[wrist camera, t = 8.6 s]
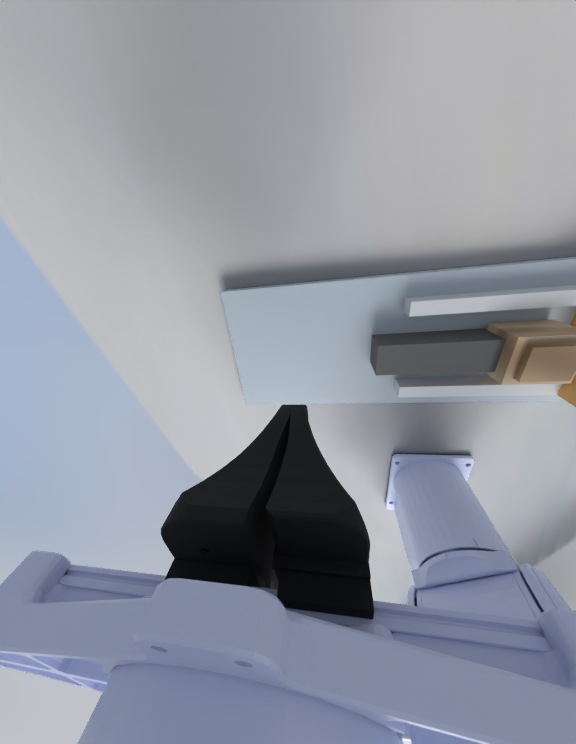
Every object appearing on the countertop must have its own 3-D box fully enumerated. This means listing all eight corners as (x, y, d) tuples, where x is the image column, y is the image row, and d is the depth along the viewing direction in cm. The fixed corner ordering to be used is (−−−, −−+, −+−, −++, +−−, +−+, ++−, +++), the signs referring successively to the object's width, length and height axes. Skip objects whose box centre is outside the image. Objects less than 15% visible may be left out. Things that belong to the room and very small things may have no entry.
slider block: (534, 363, 18) (577, 387, 15) (475, 365, 19) (506, 388, 16) (552, 319, 16) (605, 336, 13) (488, 323, 17) (524, 340, 14)
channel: (559, 393, 20) (614, 427, 16) (249, 398, 25) (235, 426, 21) (632, 250, 15) (737, 252, 11) (225, 289, 20) (202, 300, 16)
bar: (475, 357, 19) (494, 372, 16) (370, 361, 20) (375, 375, 18) (483, 328, 17) (505, 339, 15) (371, 334, 19) (378, 345, 17)
